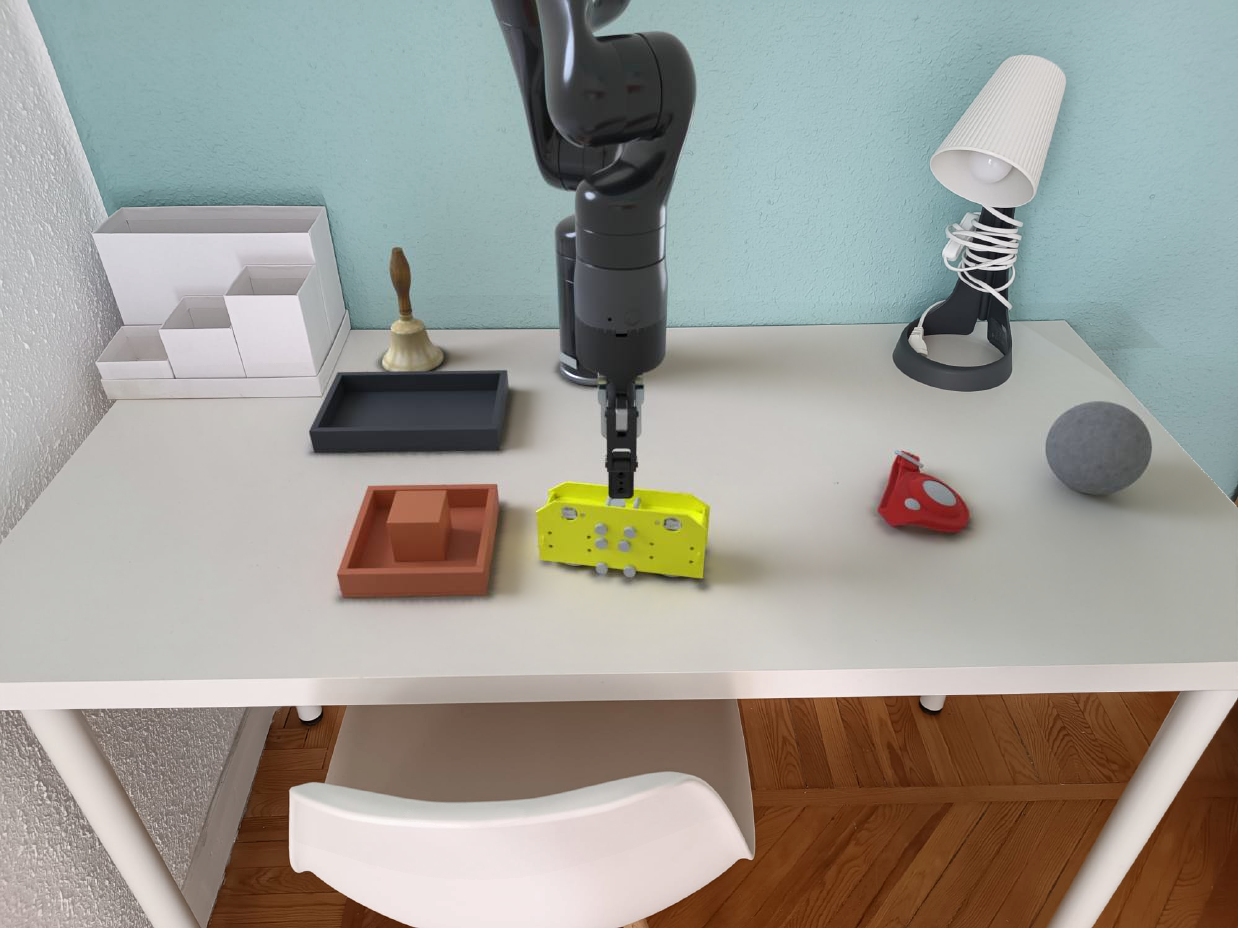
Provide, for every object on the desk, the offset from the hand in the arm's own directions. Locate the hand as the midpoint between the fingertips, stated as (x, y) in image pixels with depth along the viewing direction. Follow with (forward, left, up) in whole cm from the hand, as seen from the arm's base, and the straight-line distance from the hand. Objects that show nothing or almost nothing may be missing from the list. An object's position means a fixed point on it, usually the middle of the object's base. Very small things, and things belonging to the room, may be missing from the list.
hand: (620, 468), depth 80 cm
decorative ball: (-11, +51, -12) cm, 54 cm away
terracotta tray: (-2, -20, -11) cm, 23 cm away
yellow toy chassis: (0, 0, -12) cm, 12 cm away
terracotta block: (-2, -20, -11) cm, 23 cm away
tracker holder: (-8, +32, -12) cm, 35 cm away
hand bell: (-41, -28, -12) cm, 51 cm away
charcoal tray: (-26, -25, -11) cm, 38 cm away
